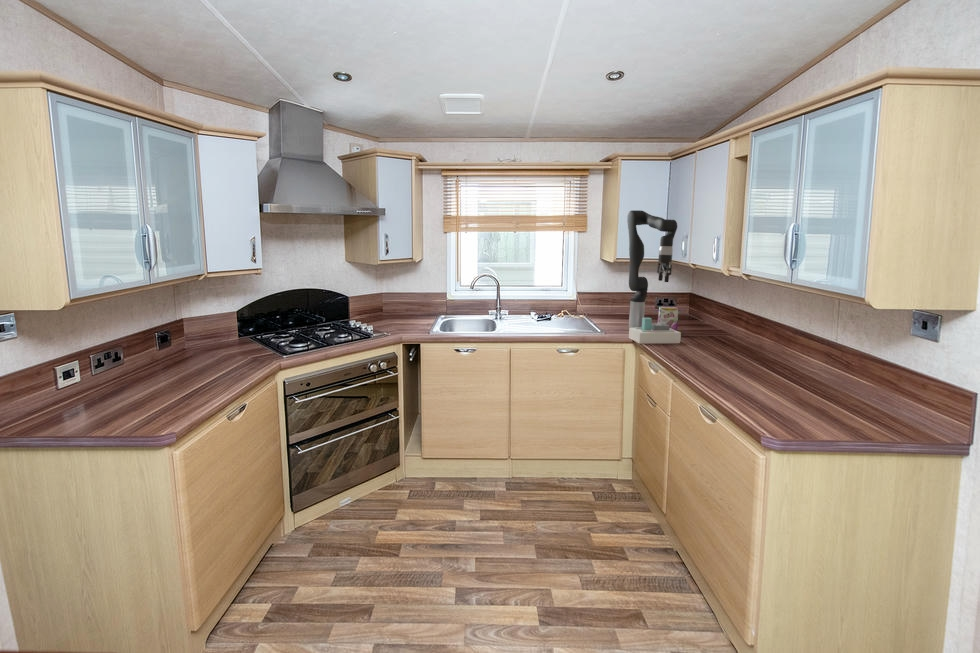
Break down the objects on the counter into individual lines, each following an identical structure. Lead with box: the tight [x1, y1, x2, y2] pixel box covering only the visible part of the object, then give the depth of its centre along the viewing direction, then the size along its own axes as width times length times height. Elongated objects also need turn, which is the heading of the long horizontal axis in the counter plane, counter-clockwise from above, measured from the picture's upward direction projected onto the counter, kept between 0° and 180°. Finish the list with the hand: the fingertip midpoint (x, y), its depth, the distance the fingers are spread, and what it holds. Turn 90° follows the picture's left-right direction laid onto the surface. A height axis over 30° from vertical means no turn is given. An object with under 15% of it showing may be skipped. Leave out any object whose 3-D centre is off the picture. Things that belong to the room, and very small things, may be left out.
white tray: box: [628, 327, 682, 345], centre depth 299 cm, size 16×24×7 cm, turn 96°
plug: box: [642, 317, 653, 330], centre depth 298 cm, size 4×4×10 cm
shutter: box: [651, 321, 670, 330], centre depth 299 cm, size 8×8×4 cm
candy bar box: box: [657, 306, 680, 331], centre depth 320 cm, size 11×5×16 cm, turn 84°
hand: (663, 281), depth 309 cm, fingers open, 8 cm apart
